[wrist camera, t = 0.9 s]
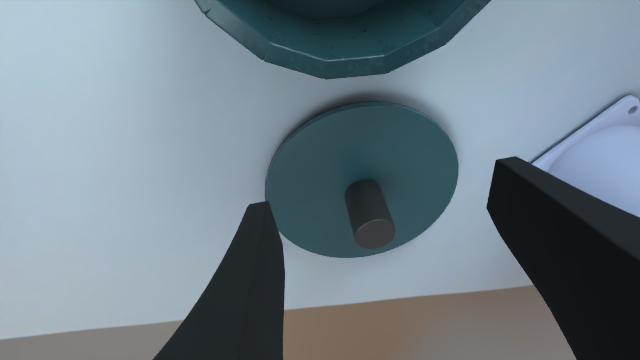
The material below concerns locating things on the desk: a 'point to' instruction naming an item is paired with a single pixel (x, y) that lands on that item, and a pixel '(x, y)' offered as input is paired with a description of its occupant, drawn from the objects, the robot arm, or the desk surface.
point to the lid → (361, 179)
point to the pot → (341, 31)
